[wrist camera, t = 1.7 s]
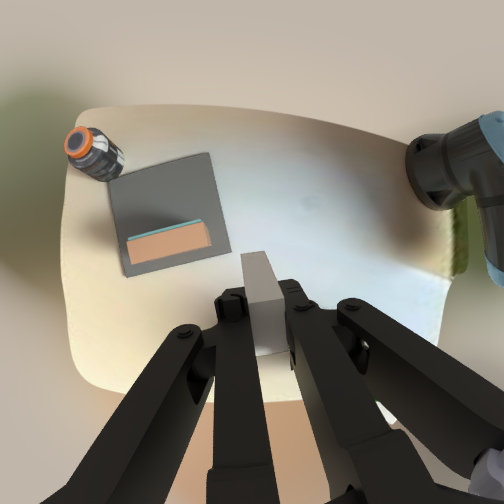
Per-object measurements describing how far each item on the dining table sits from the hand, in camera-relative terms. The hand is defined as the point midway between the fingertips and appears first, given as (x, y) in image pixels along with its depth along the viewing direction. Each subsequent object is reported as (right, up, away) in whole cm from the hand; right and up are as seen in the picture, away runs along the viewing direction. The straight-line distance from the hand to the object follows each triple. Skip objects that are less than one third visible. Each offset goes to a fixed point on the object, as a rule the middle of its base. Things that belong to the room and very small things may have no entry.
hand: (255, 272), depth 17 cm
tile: (-10, +3, +20) cm, 23 cm away
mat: (-13, +7, +21) cm, 25 cm away
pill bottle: (-23, +15, +20) cm, 34 cm away
